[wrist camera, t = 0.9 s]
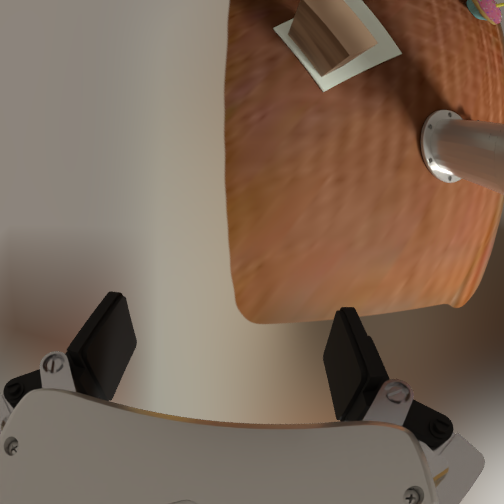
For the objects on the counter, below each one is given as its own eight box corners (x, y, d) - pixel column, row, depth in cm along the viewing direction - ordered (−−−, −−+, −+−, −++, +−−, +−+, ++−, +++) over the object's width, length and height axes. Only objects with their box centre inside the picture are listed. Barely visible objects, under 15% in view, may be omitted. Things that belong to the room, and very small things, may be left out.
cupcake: (476, -2, 17) (509, -13, 6) (492, 30, 20) (527, 24, 9) (453, -10, 18) (487, -25, 7) (470, 24, 22) (508, 14, 11)
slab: (311, 23, 27) (332, -13, 16) (344, 65, 29) (379, 42, 18) (287, 34, 28) (301, -2, 17) (321, 77, 30) (350, 55, 19)
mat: (356, -4, 24) (357, -6, 23) (400, 54, 28) (402, 53, 27) (273, 29, 28) (273, 27, 27) (323, 92, 32) (323, 91, 31)
